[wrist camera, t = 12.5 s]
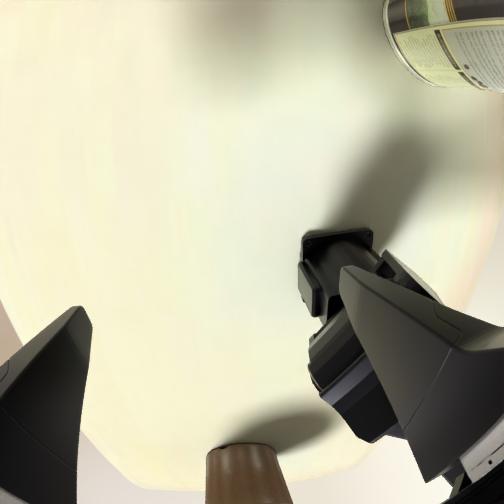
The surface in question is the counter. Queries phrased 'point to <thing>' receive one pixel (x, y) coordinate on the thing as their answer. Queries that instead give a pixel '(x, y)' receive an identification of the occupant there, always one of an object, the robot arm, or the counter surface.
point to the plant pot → (245, 476)
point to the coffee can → (449, 41)
